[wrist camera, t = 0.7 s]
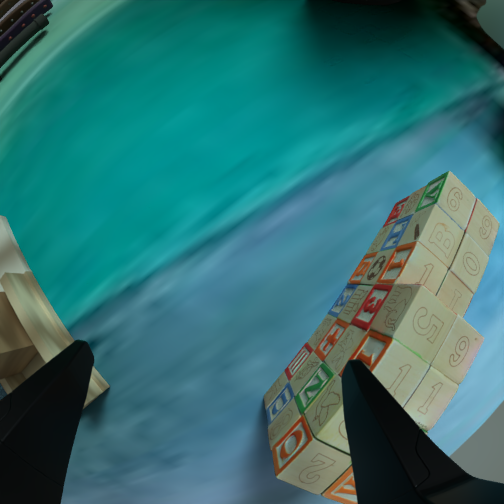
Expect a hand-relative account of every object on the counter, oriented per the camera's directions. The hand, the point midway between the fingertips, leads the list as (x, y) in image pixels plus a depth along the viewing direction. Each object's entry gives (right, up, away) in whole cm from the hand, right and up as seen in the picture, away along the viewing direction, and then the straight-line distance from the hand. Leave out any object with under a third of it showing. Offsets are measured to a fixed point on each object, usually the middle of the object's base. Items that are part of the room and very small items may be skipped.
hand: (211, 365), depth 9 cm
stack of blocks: (+11, -2, +16) cm, 19 cm away
